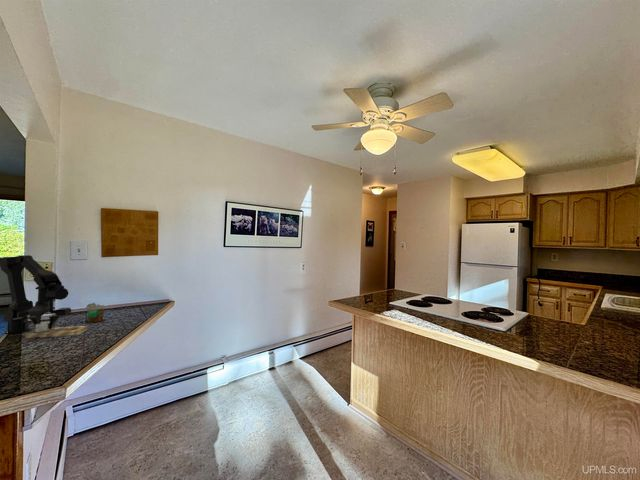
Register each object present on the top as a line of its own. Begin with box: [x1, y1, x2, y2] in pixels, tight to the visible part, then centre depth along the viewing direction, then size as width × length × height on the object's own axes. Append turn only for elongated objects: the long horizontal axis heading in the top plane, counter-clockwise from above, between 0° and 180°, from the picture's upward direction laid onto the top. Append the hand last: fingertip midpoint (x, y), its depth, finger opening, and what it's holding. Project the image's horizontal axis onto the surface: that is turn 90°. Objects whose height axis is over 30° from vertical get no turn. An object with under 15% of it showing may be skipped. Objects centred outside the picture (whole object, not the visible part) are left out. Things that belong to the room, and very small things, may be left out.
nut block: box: [34, 320, 54, 333], centre depth 134 cm, size 5×5×6 cm
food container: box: [85, 302, 105, 324], centre depth 158 cm, size 12×6×10 cm, turn 62°
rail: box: [24, 325, 89, 339], centre depth 136 cm, size 21×9×2 cm, turn 109°
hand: (44, 329), depth 134 cm, fingers closed on nut block, 5 cm apart
